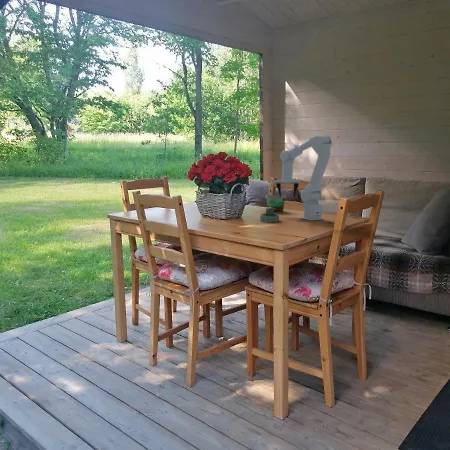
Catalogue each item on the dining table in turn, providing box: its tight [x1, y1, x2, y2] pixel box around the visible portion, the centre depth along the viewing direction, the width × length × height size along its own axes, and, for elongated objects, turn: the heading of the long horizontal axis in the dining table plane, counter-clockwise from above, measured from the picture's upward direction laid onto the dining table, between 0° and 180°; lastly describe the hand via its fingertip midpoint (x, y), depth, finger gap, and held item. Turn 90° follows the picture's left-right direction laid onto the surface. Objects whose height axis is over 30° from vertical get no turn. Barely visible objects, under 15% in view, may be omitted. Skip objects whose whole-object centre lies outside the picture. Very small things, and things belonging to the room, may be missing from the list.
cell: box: [265, 207, 274, 216], centre depth 244 cm, size 4×4×6 cm
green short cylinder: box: [259, 212, 280, 223], centre depth 245 cm, size 10×10×3 cm
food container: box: [264, 193, 287, 213], centre depth 272 cm, size 12×6×10 cm, turn 73°
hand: (287, 196), depth 261 cm, fingers open, 7 cm apart
